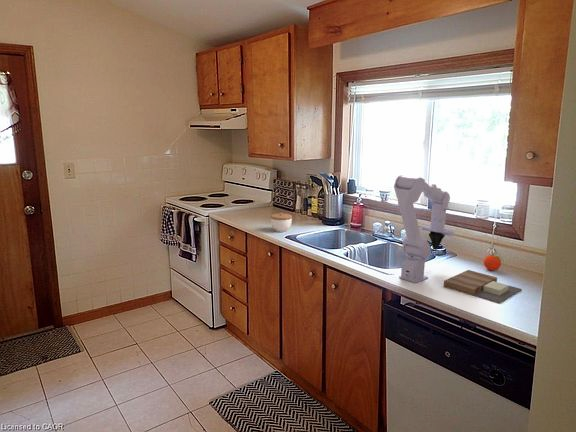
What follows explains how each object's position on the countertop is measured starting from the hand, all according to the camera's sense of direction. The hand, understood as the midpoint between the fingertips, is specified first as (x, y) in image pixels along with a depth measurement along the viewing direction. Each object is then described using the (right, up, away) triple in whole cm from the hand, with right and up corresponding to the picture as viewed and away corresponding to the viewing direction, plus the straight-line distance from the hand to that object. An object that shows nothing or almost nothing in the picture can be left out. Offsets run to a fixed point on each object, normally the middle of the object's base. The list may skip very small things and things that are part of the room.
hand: (435, 249), depth 185 cm
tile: (+15, -14, -22) cm, 31 cm away
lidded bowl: (-68, +6, +69) cm, 98 cm away
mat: (+15, -15, -23) cm, 32 cm away
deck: (+8, -13, -16) cm, 22 cm away
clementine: (+26, -10, +2) cm, 28 cm away
